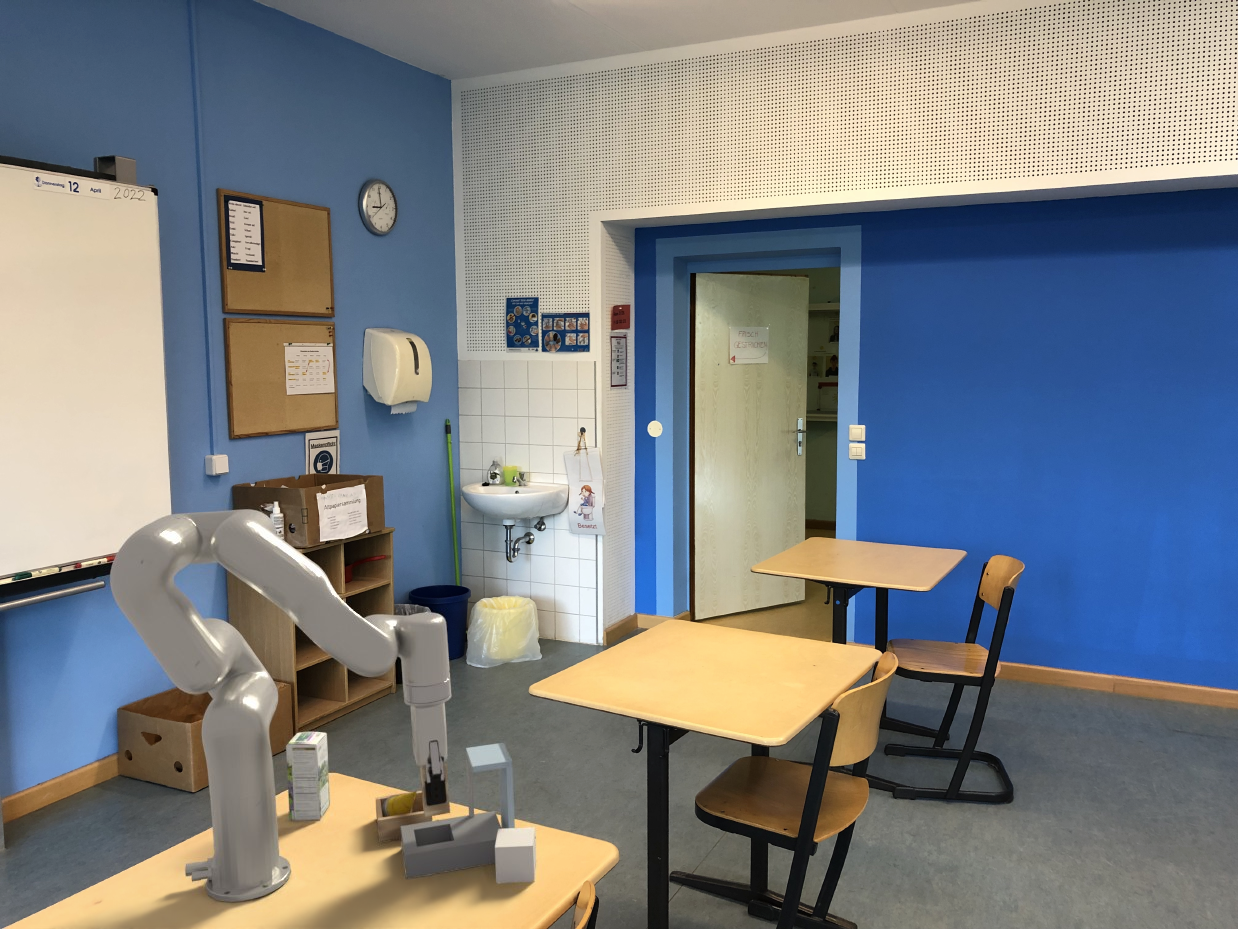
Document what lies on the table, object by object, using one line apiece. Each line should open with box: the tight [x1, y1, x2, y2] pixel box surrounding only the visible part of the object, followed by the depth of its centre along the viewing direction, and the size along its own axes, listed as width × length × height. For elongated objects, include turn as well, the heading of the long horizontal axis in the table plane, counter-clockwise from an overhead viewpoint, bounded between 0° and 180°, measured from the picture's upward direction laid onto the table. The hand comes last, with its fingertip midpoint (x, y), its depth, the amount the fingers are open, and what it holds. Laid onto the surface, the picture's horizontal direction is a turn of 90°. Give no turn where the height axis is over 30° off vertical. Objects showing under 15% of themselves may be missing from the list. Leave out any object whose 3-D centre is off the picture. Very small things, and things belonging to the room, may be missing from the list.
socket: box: [400, 810, 502, 880], centre depth 157 cm, size 16×10×4 cm, turn 107°
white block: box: [494, 826, 537, 884], centre depth 151 cm, size 6×6×6 cm
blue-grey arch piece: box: [465, 742, 516, 829], centre depth 159 cm, size 6×8×16 cm
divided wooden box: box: [374, 790, 433, 844], centre depth 167 cm, size 9×9×4 cm
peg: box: [419, 747, 451, 817], centre depth 155 cm, size 4×4×10 cm
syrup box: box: [285, 731, 331, 821], centre depth 172 cm, size 6×6×14 cm
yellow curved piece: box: [382, 790, 417, 817], centre depth 166 cm, size 5×5×10 cm
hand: (435, 796), depth 155 cm, fingers closed on peg, 4 cm apart
